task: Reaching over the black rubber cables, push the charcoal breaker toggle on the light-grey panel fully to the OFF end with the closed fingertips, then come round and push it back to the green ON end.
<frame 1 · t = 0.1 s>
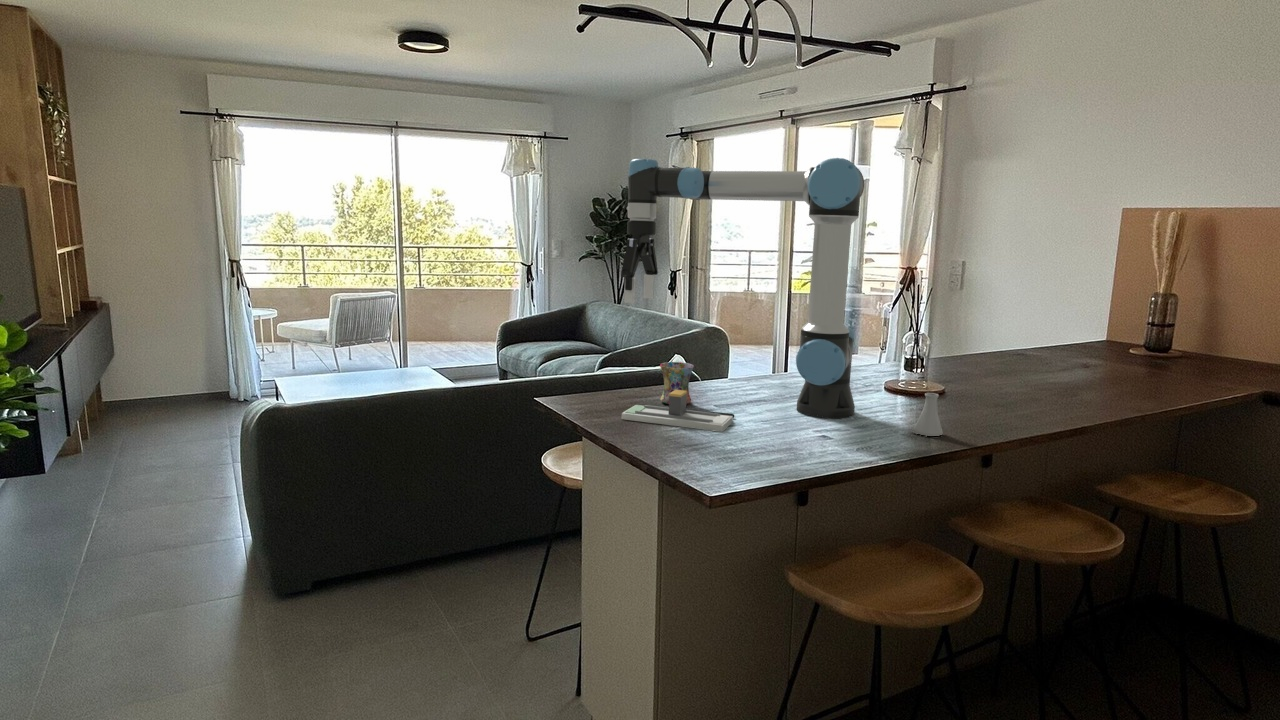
hand: (639, 300, 206), 28 cm above the countertop, fingers open, 13 cm apart
flask: (927, 434, 187), on the countertop
cable a: (684, 415, 198), on the countertop
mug: (674, 402, 213), on the countertop
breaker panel: (677, 420, 193), on the countertop
cable b: (689, 414, 199), on the countertop
breaker toggle: (677, 403, 192), point 5 cm above the countertop, slide at 4.0 cm
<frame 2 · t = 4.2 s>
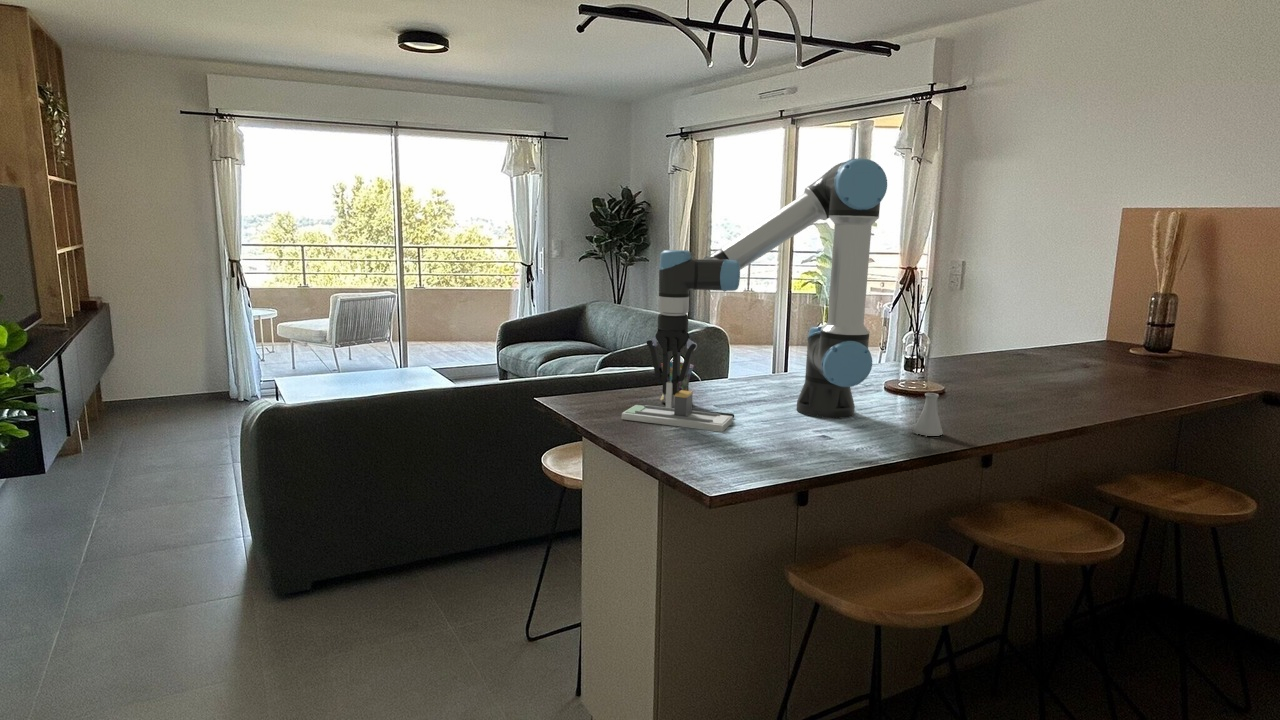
hand: (670, 407, 193), 3 cm above the countertop, fingers closed
breaker toggle: (683, 403, 191), point 5 cm above the countertop, slide at 2.5 cm, touching gripper
everything else where it was.
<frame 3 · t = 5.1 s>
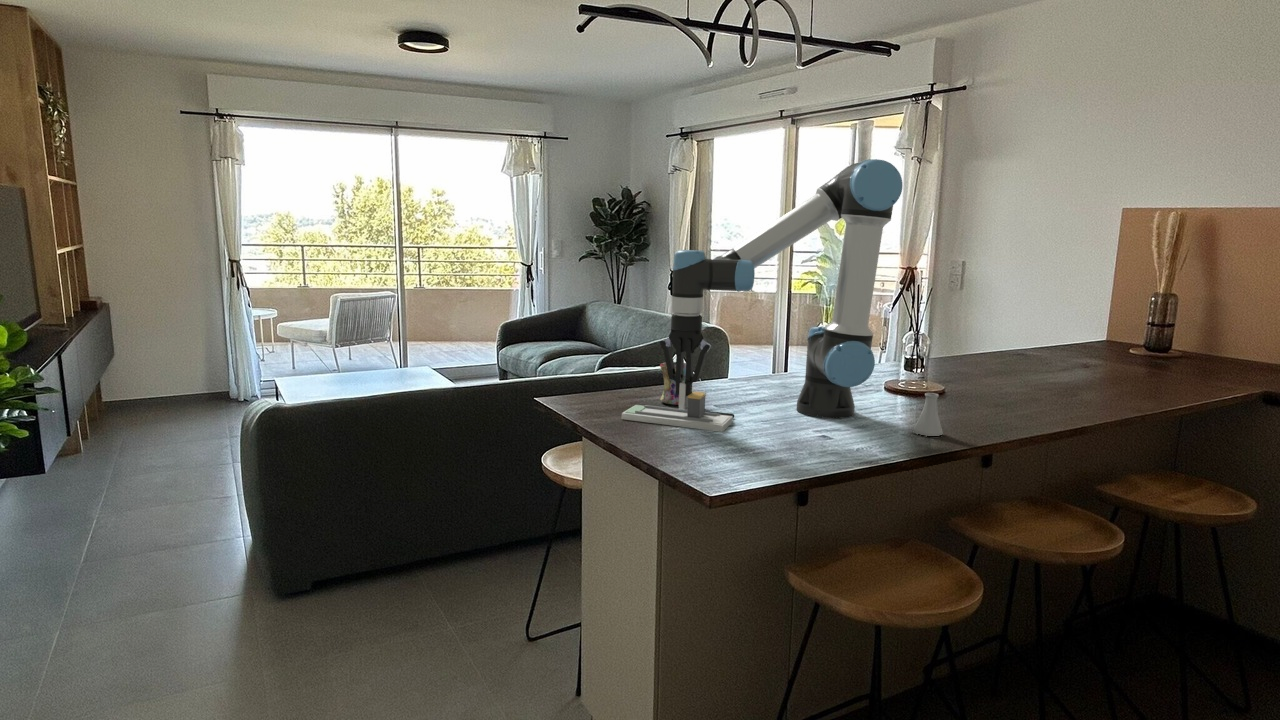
hand: (683, 408, 192), 3 cm above the countertop, fingers closed
breaker toggle: (696, 405, 190), point 5 cm above the countertop, slide at -0.9 cm, touching gripper
everything else where it was.
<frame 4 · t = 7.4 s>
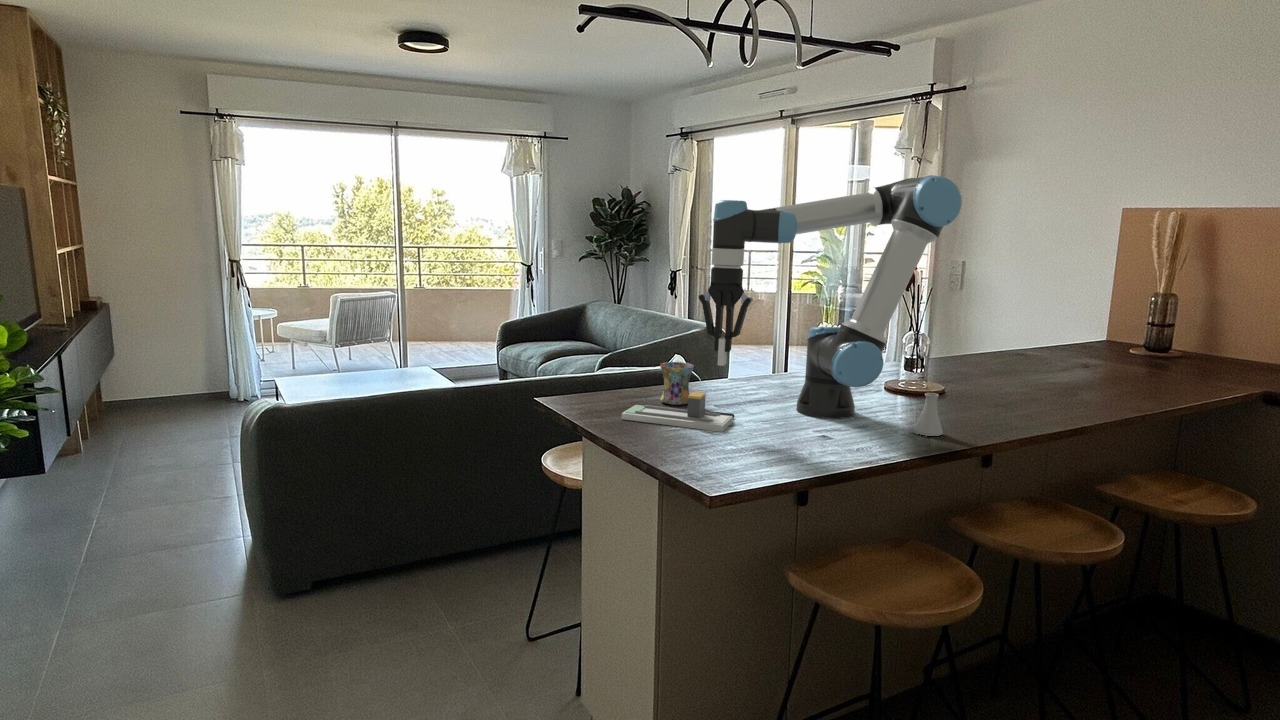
hand: (721, 364, 186), 15 cm above the countertop, fingers closed
breaker toggle: (696, 405, 190), point 5 cm above the countertop, slide at -0.9 cm
everything else where it was.
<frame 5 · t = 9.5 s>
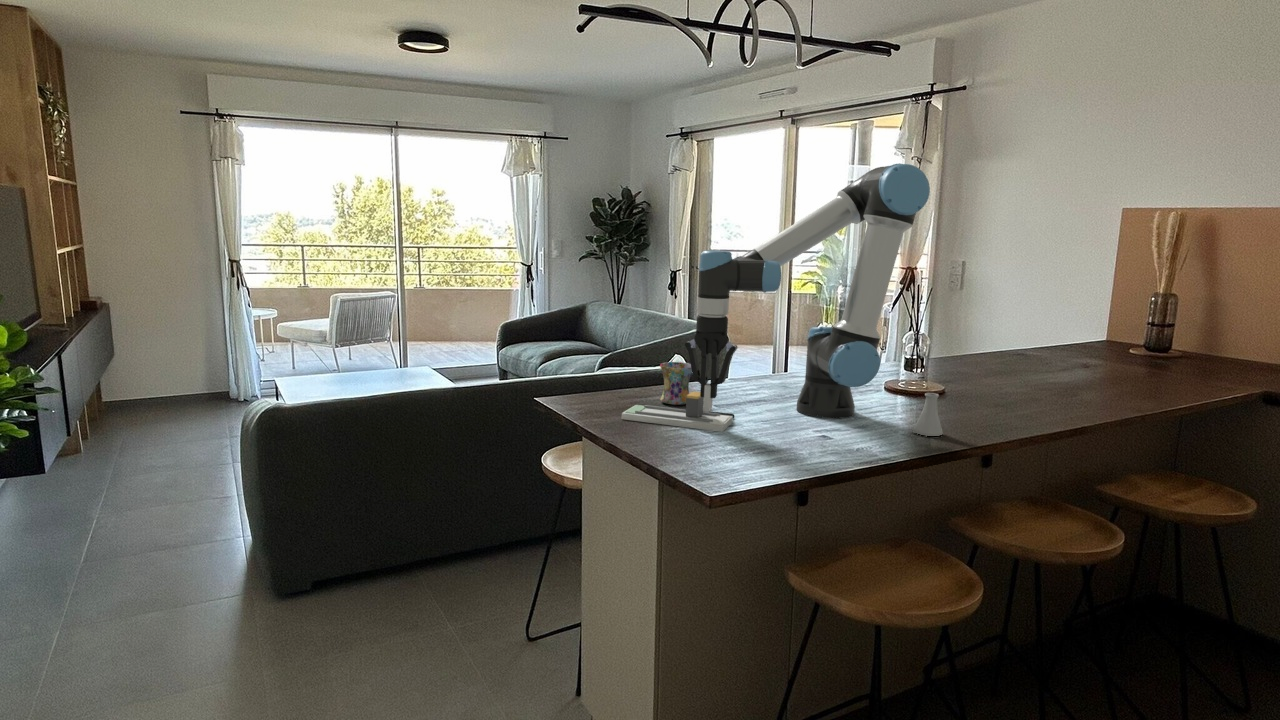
hand: (707, 410, 189), 4 cm above the countertop, fingers closed
breaker toggle: (694, 405, 190), point 5 cm above the countertop, slide at -0.5 cm, touching gripper
everything else where it was.
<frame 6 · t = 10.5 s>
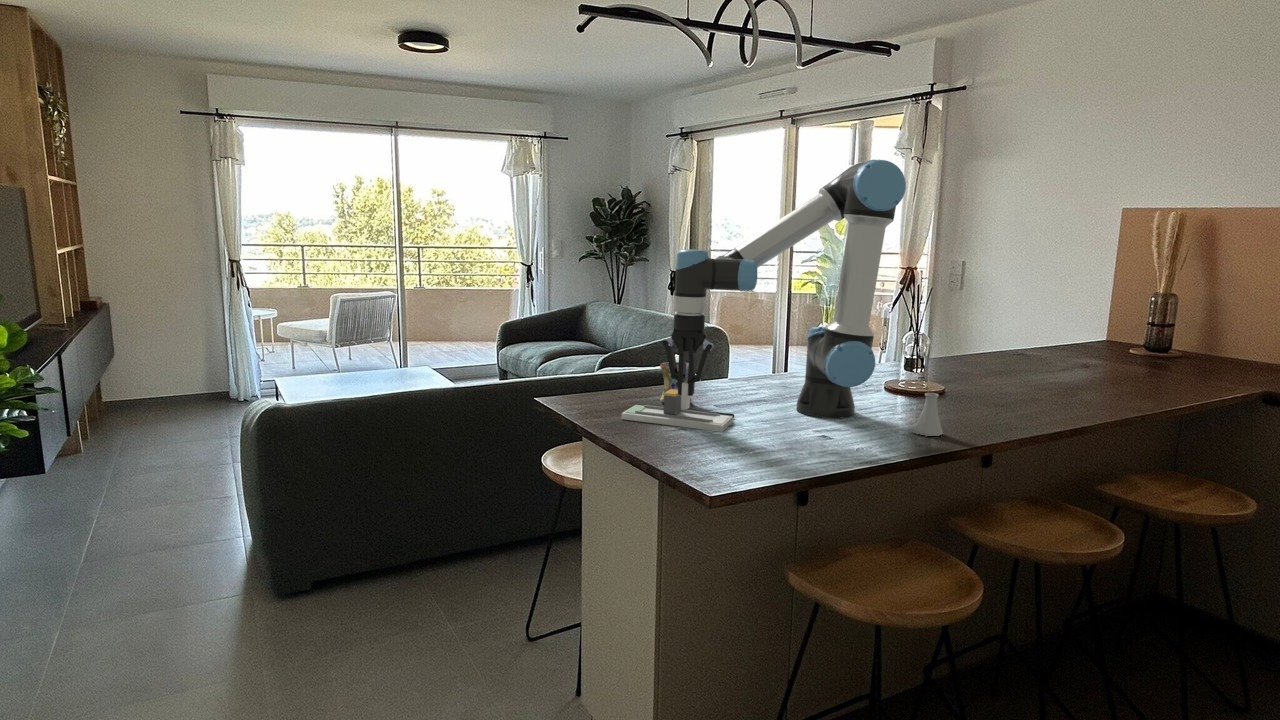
hand: (685, 407, 191), 4 cm above the countertop, fingers closed
breaker toggle: (672, 402, 192), point 5 cm above the countertop, slide at 5.3 cm, touching gripper
everything else where it was.
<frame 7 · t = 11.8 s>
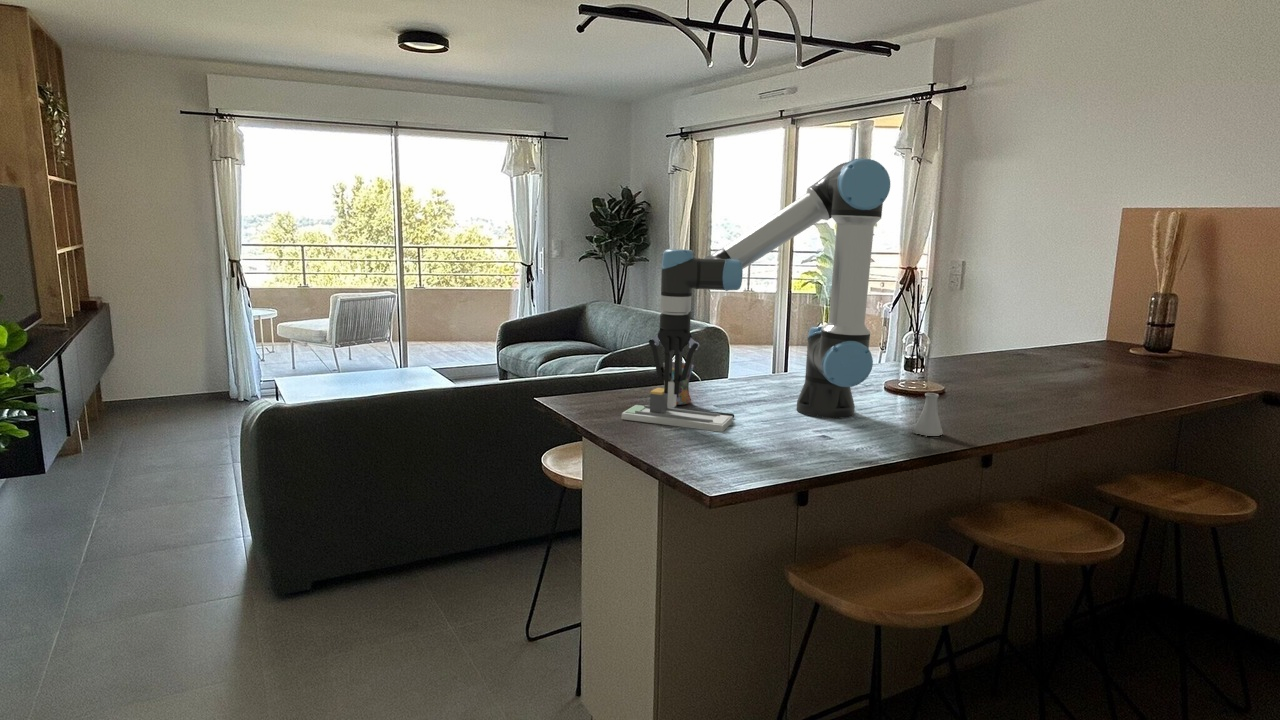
hand: (671, 406, 192), 3 cm above the countertop, fingers closed
breaker toggle: (659, 400, 193), point 5 cm above the countertop, slide at 8.9 cm, touching gripper
everything else where it was.
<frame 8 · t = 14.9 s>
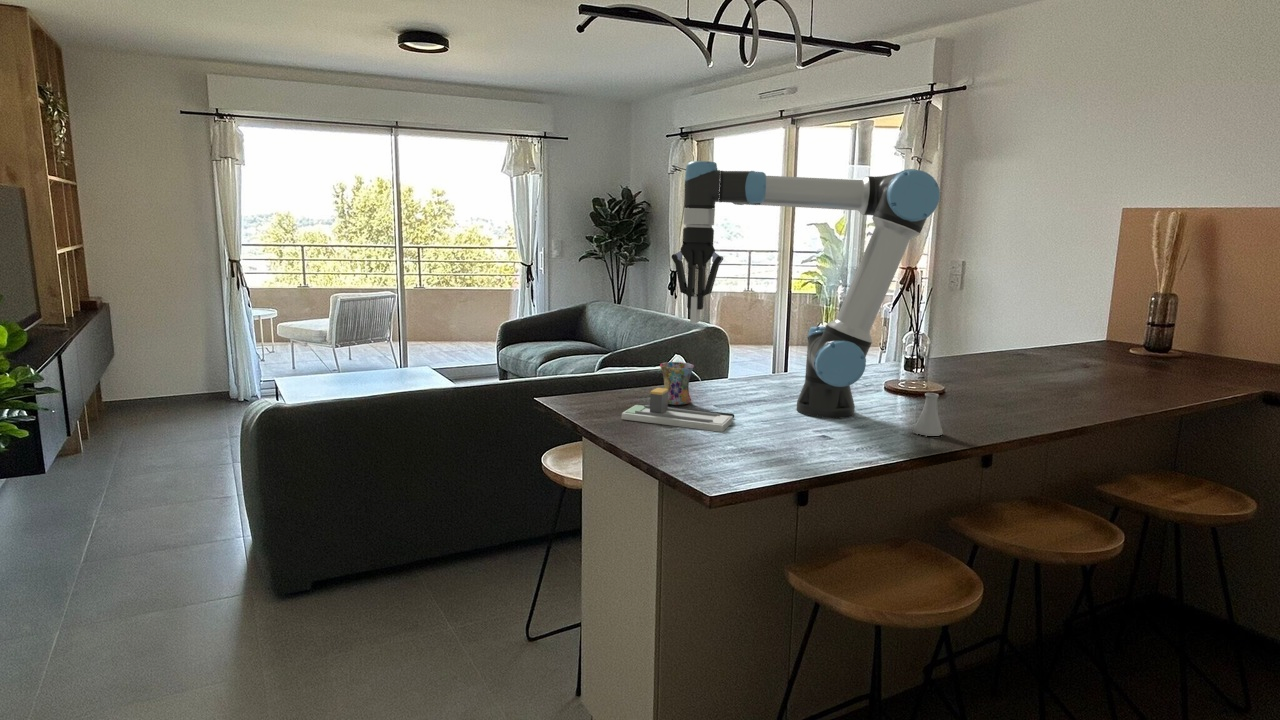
hand: (694, 322, 192), 24 cm above the countertop, fingers closed
breaker toggle: (659, 400, 193), point 5 cm above the countertop, slide at 8.9 cm
everything else where it was.
at the end: breaker toggle slide at 8.9 cm; the gripper is holding nothing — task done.
